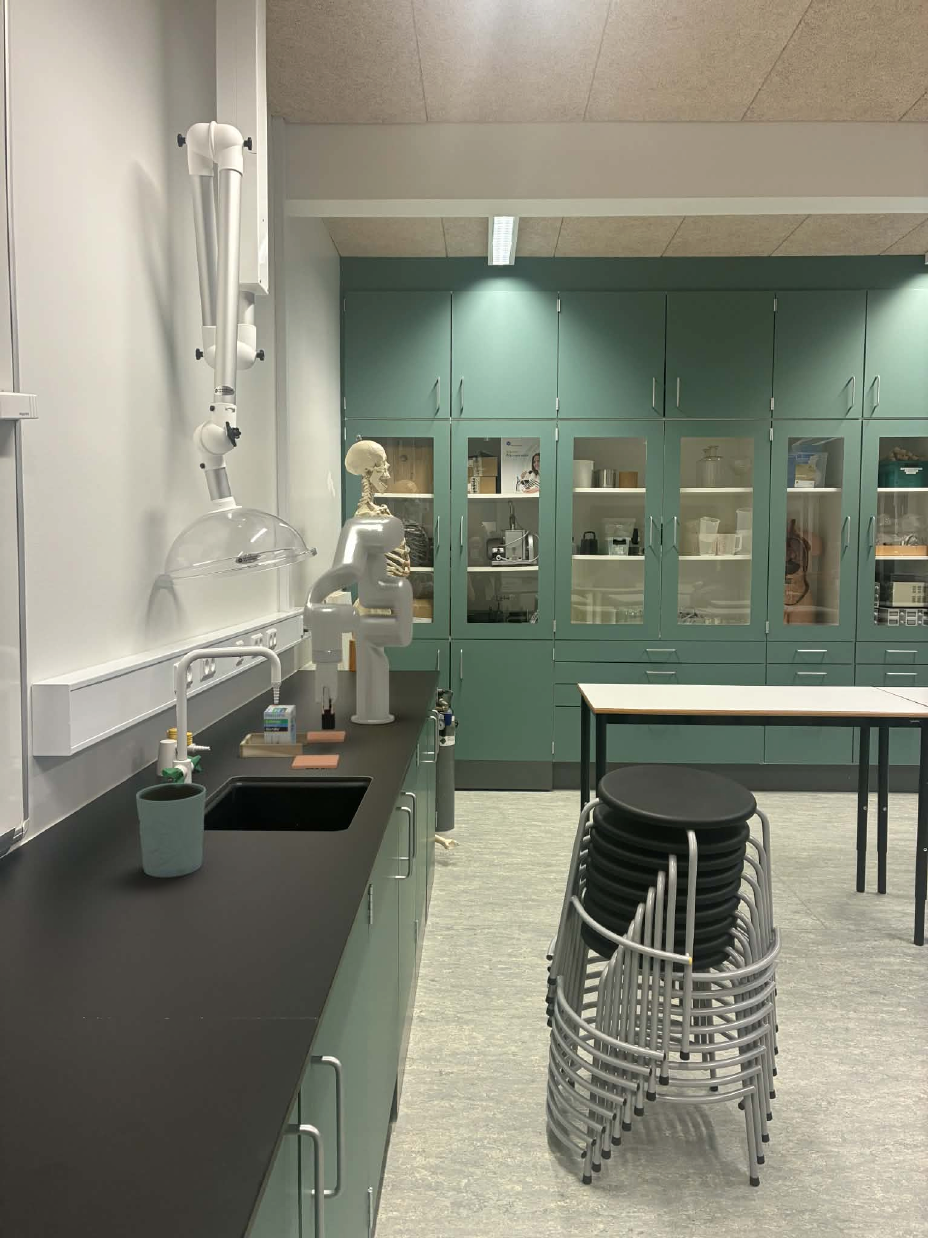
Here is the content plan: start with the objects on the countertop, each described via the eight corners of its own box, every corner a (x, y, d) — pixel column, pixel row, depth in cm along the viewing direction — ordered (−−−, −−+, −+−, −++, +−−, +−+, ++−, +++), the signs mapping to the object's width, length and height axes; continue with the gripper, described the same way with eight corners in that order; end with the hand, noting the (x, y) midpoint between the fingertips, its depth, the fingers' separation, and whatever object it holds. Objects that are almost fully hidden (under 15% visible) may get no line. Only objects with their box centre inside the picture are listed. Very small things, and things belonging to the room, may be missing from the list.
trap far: (308, 734, 230) (308, 731, 230) (345, 734, 231) (345, 731, 231) (304, 742, 220) (304, 739, 220) (343, 742, 221) (343, 739, 221)
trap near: (296, 758, 202) (296, 755, 202) (338, 758, 203) (338, 755, 203) (291, 769, 192) (291, 765, 192) (336, 768, 193) (336, 765, 193)
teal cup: (204, 853, 137) (203, 780, 136) (209, 875, 128) (208, 796, 127) (137, 861, 133) (135, 786, 133) (137, 884, 124) (135, 803, 123)
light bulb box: (291, 755, 205) (291, 711, 205) (263, 756, 205) (262, 712, 204) (296, 746, 216) (296, 704, 215) (269, 746, 215) (269, 704, 215)
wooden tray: (248, 745, 217) (248, 733, 216) (307, 744, 218) (307, 733, 218) (239, 757, 203) (239, 745, 203) (301, 756, 204) (301, 744, 204)
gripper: (314, 652, 217) (316, 722, 219) (308, 661, 202) (310, 736, 204) (344, 652, 218) (345, 722, 220) (340, 661, 203) (341, 736, 205)
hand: (328, 728), depth 212 cm, fingers closed
